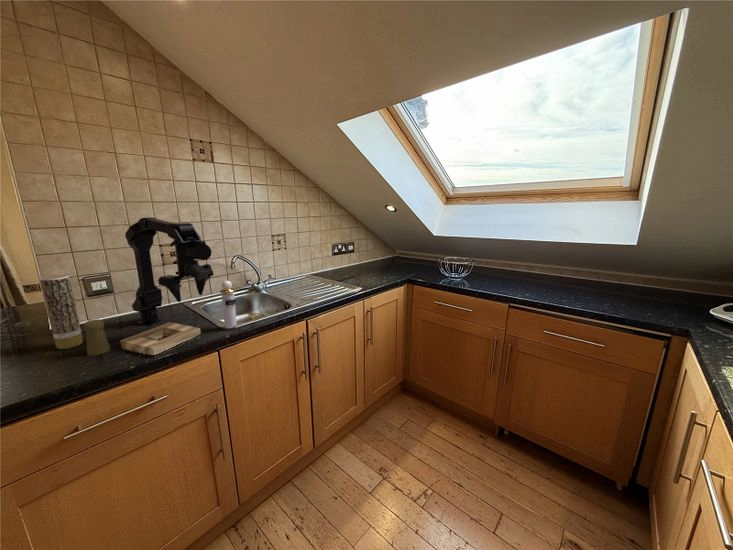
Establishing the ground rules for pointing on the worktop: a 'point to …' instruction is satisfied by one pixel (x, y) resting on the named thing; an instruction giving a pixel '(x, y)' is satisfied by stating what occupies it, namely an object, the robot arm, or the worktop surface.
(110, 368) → the worktop surface
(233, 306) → the perfume bottle
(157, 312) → the robot arm
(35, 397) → the worktop surface
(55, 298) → the grey bark cylinder
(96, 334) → the cork
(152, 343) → the socket board
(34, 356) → the worktop surface
